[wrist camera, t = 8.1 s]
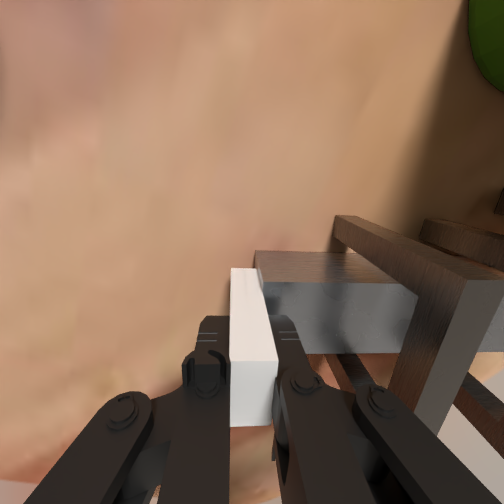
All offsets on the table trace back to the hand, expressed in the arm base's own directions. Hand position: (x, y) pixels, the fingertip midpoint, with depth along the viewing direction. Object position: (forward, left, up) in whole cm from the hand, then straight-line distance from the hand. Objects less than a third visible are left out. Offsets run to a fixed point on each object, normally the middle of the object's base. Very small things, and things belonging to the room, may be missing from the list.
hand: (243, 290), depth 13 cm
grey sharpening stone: (+9, 0, -1) cm, 9 cm away
